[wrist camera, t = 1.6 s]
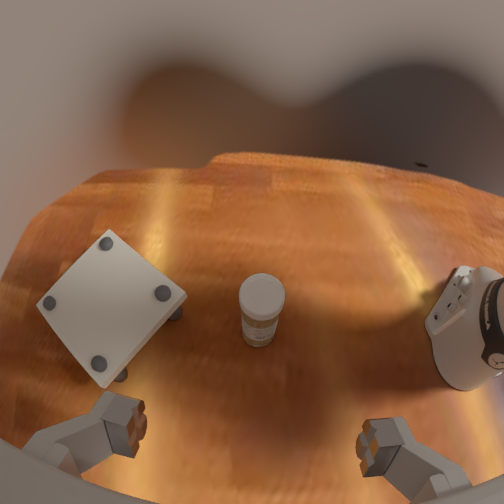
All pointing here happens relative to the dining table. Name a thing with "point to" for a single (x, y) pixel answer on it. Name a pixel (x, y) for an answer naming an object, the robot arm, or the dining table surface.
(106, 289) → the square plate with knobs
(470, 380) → the robot arm
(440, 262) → the dining table surface
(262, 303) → the sprinkles bottle
